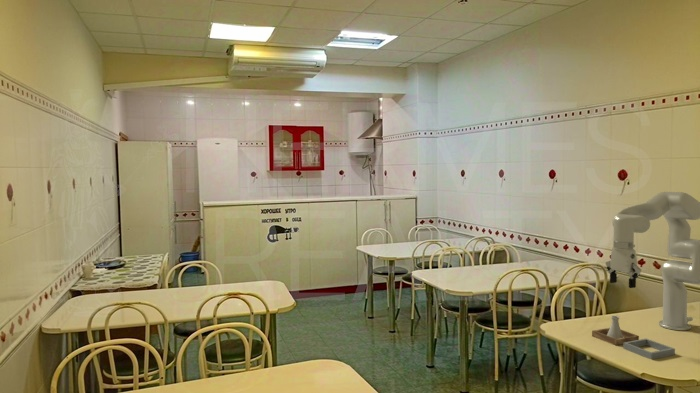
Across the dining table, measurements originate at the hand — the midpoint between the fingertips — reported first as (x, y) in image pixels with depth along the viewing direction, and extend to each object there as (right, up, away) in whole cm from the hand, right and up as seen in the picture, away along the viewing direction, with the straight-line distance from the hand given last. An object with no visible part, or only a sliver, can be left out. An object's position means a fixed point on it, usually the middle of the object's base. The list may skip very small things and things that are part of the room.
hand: (622, 285), depth 211 cm
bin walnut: (+2, -26, +9) cm, 27 cm away
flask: (+2, -26, +9) cm, 27 cm away
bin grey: (+7, -26, -6) cm, 28 cm away
